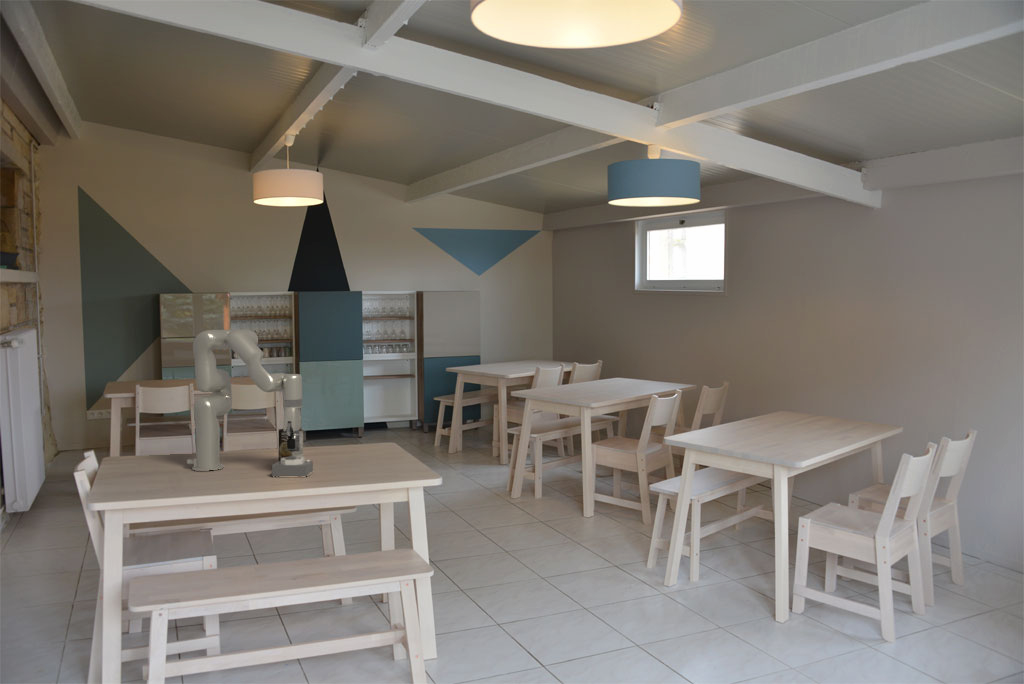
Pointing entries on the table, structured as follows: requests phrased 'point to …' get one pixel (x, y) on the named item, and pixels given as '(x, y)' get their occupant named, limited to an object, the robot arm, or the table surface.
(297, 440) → the lens
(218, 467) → the robot arm
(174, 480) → the table surface
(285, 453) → the coffee box
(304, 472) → the camera body
